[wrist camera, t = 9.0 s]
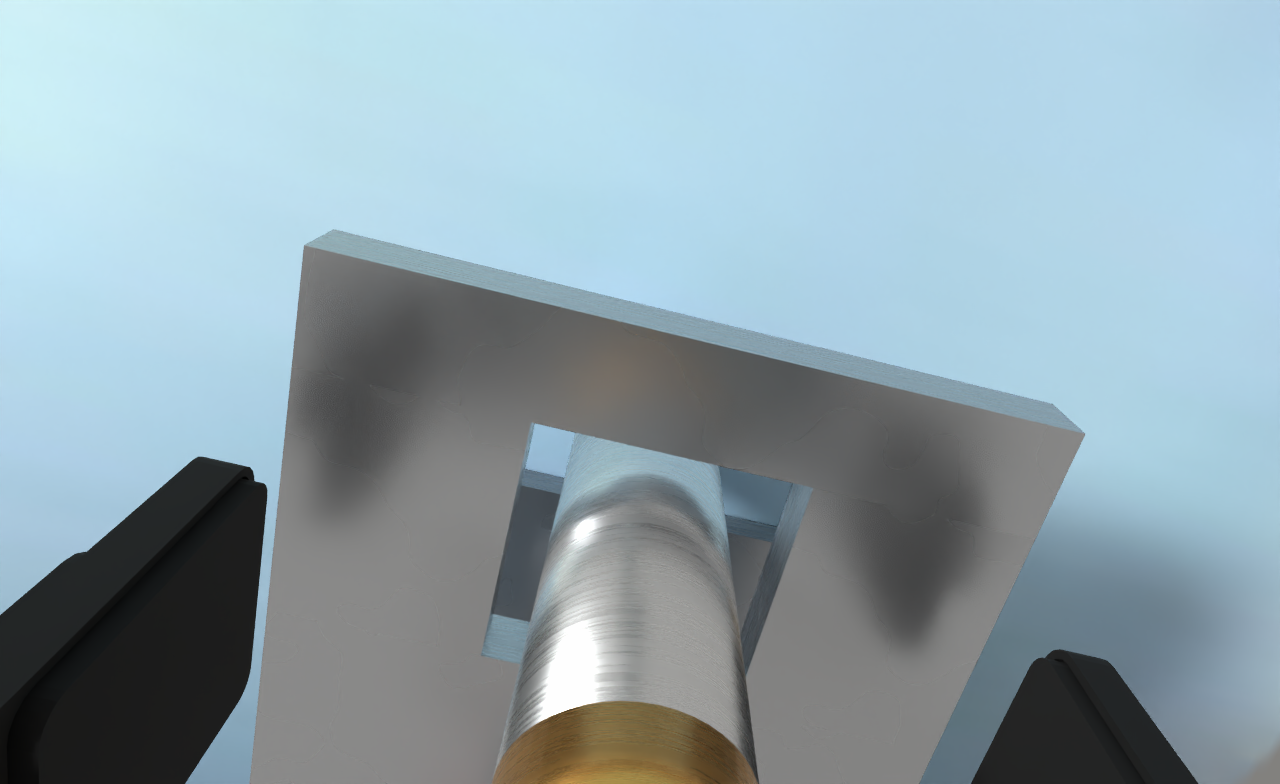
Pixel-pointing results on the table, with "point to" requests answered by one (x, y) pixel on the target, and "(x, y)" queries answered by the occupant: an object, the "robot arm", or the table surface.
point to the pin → (632, 632)
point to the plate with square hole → (527, 503)
